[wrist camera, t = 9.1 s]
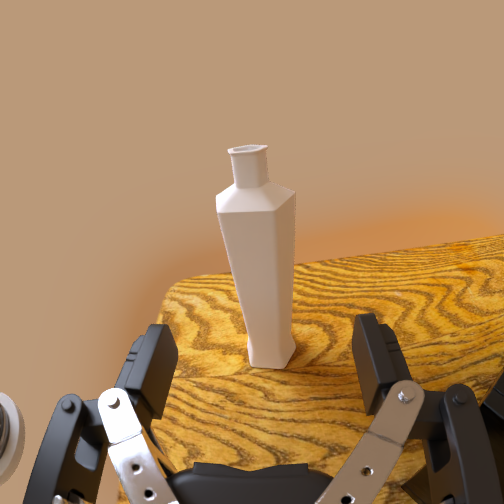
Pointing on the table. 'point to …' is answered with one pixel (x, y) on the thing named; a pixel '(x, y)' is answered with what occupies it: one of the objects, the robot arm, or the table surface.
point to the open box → (499, 432)
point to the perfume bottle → (260, 254)
